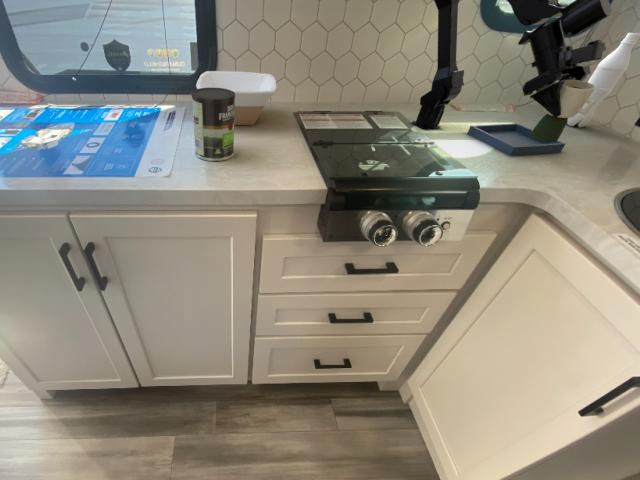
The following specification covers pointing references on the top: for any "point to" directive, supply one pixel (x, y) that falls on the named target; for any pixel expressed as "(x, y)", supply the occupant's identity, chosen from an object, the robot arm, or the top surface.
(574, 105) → the character mug
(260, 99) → the bowl
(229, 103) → the coffee can
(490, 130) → the shallow blue square tray
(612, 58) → the water bottle
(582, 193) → the top surface
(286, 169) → the top surface
